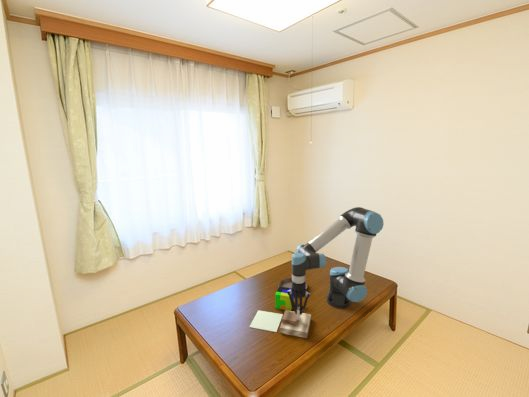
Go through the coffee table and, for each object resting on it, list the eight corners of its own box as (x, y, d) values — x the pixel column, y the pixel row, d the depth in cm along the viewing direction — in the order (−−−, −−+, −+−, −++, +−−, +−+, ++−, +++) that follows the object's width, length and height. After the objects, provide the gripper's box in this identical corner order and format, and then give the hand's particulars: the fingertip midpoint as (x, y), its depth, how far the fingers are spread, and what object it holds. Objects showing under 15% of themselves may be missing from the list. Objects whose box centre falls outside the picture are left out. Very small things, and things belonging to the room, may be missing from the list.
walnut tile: (298, 316, 155) (298, 312, 155) (296, 325, 148) (296, 321, 147) (285, 314, 157) (285, 310, 157) (282, 323, 150) (282, 319, 149)
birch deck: (310, 319, 158) (310, 314, 157) (307, 338, 143) (307, 332, 142) (286, 315, 162) (286, 310, 161) (279, 333, 147) (279, 327, 146)
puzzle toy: (294, 302, 175) (294, 288, 173) (290, 311, 166) (290, 296, 164) (279, 299, 179) (279, 286, 177) (275, 308, 169) (275, 294, 167)
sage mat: (283, 314, 163) (282, 314, 163) (276, 332, 148) (276, 331, 148) (258, 310, 167) (258, 310, 167) (249, 327, 152) (249, 326, 152)
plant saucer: (303, 299, 178) (303, 295, 178) (274, 294, 186) (274, 289, 185) (310, 284, 197) (310, 280, 197) (283, 280, 205) (283, 276, 204)
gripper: (311, 278, 148) (311, 316, 152) (288, 276, 151) (288, 313, 156) (309, 285, 141) (309, 325, 145) (285, 282, 144) (286, 321, 149)
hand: (298, 318), depth 151 cm, fingers closed
